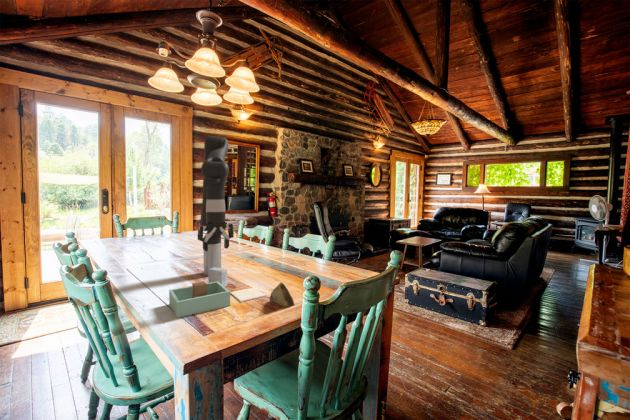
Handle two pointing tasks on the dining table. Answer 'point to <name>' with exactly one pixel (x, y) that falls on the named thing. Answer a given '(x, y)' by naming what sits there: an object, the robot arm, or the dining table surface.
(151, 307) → the dining table surface
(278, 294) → the rock
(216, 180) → the robot arm
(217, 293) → the box frame
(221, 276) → the medicine box
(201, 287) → the oak block
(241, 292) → the plate
